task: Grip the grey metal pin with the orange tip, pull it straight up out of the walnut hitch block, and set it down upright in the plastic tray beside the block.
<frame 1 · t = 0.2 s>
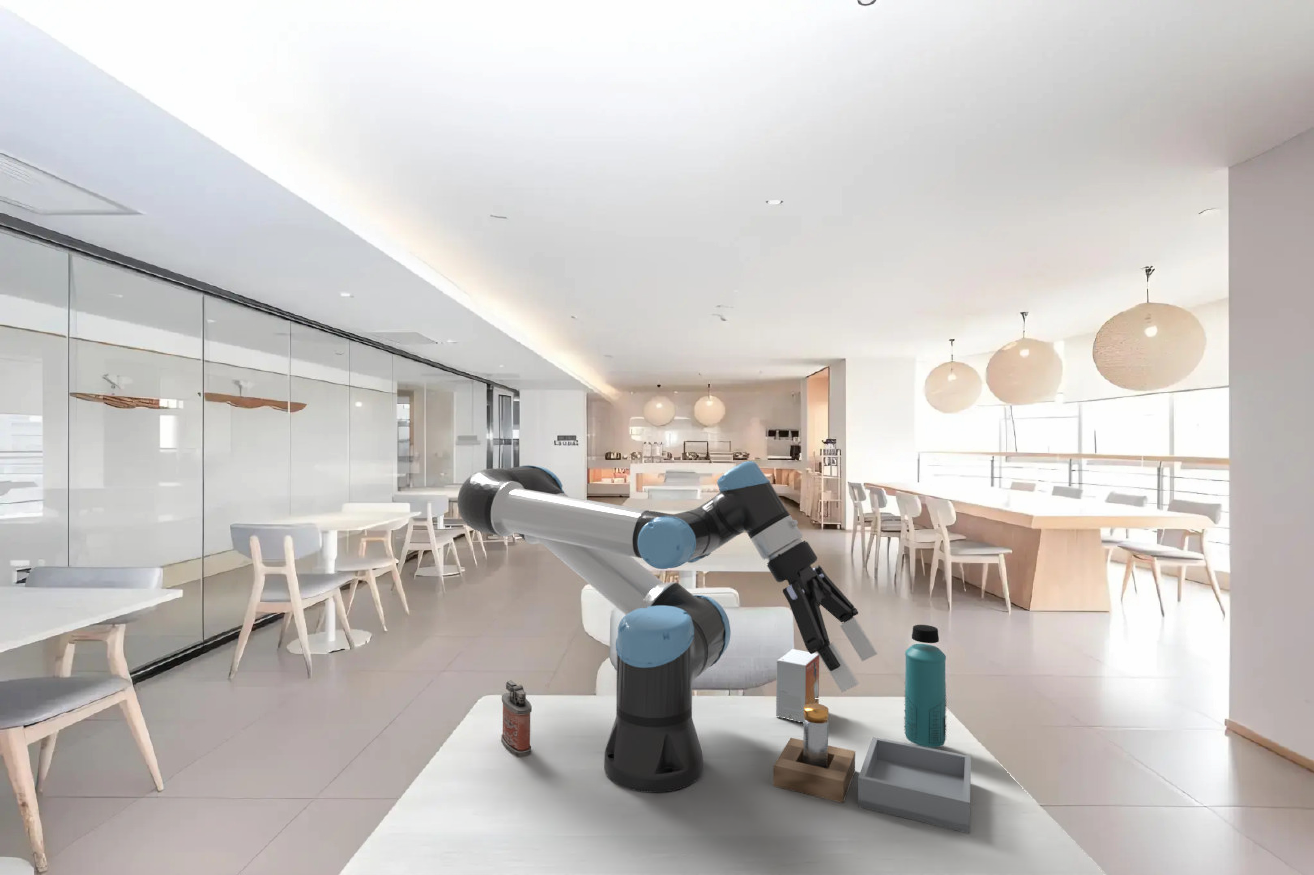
hand: (860, 671, 103), 15 cm above the table, tool tilted 35°, fingers open, 13 cm apart
tray: (916, 794, 96), on the table
small box: (797, 714, 124), on the table
beverage bottle: (924, 748, 111), on the table
hitch block: (815, 778, 101), on the table
lighter: (515, 747, 110), on the table
pin: (815, 743, 100), in the hitch block
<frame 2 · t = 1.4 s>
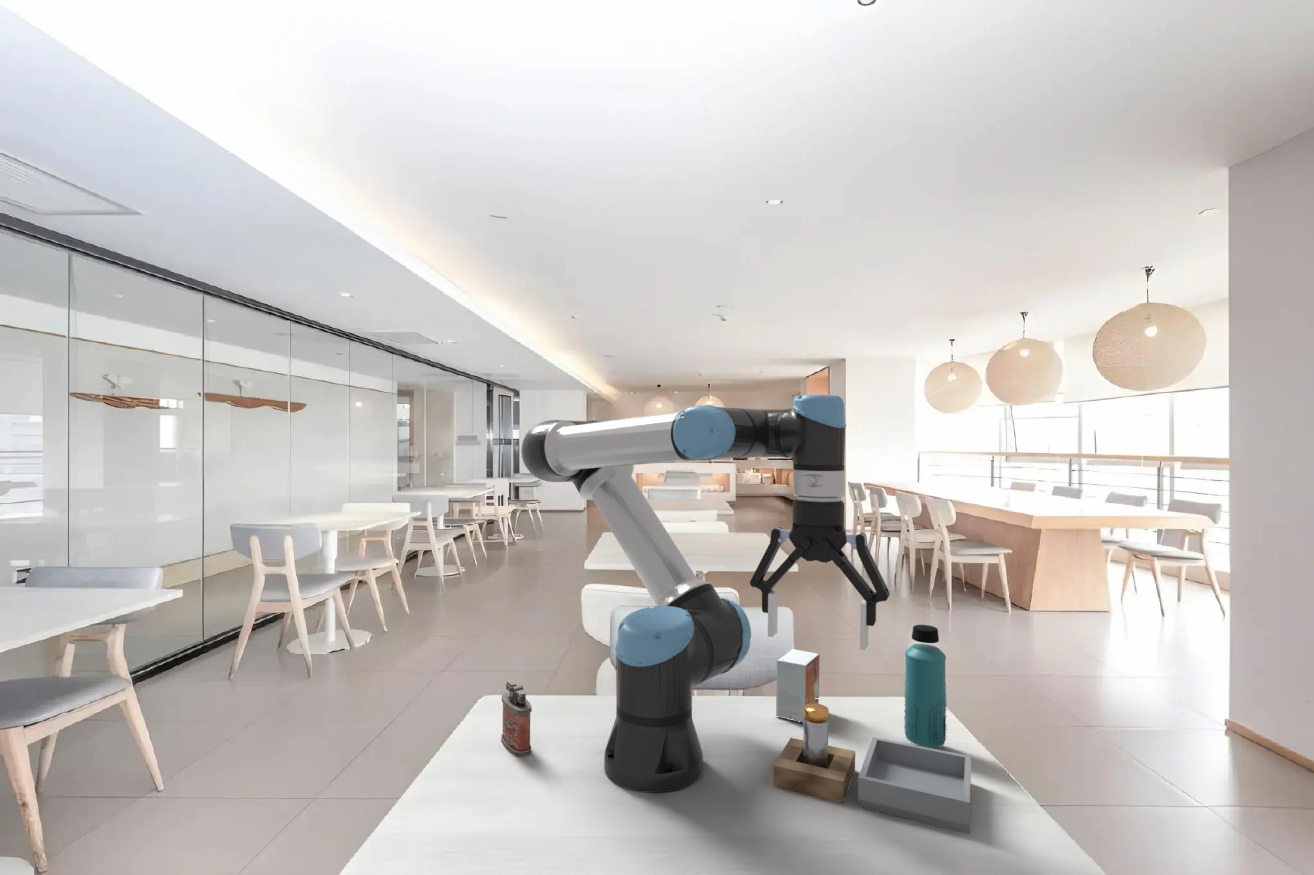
hand: (817, 640, 100), 21 cm above the table, tool pointing down, fingers open, 13 cm apart
nothing on the table moved.
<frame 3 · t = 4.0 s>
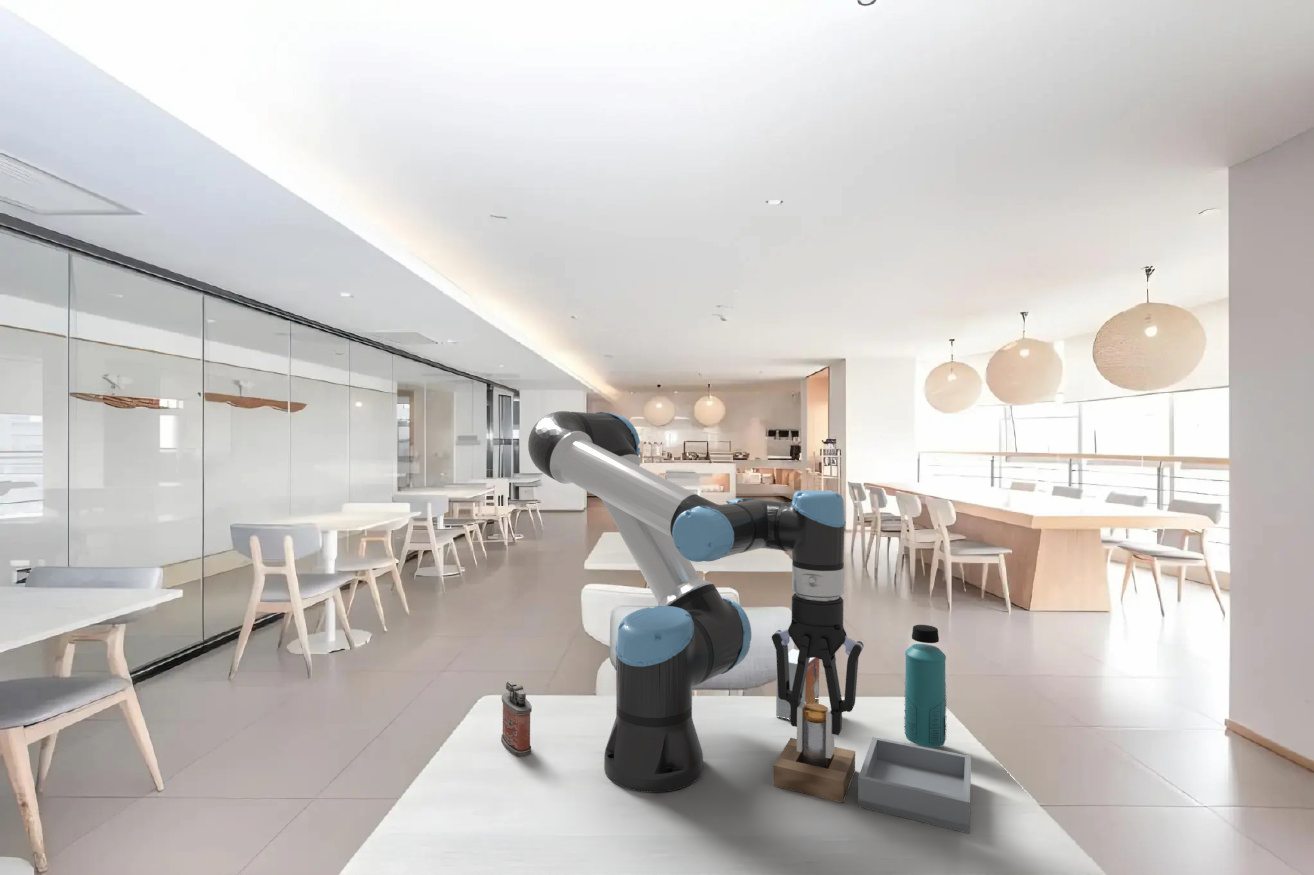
hand: (815, 750, 100), 4 cm above the table, tool pointing down, fingers closed on pin, 4 cm apart
pin: (815, 743, 100), in the hitch block, touching gripper
everything else where it was.
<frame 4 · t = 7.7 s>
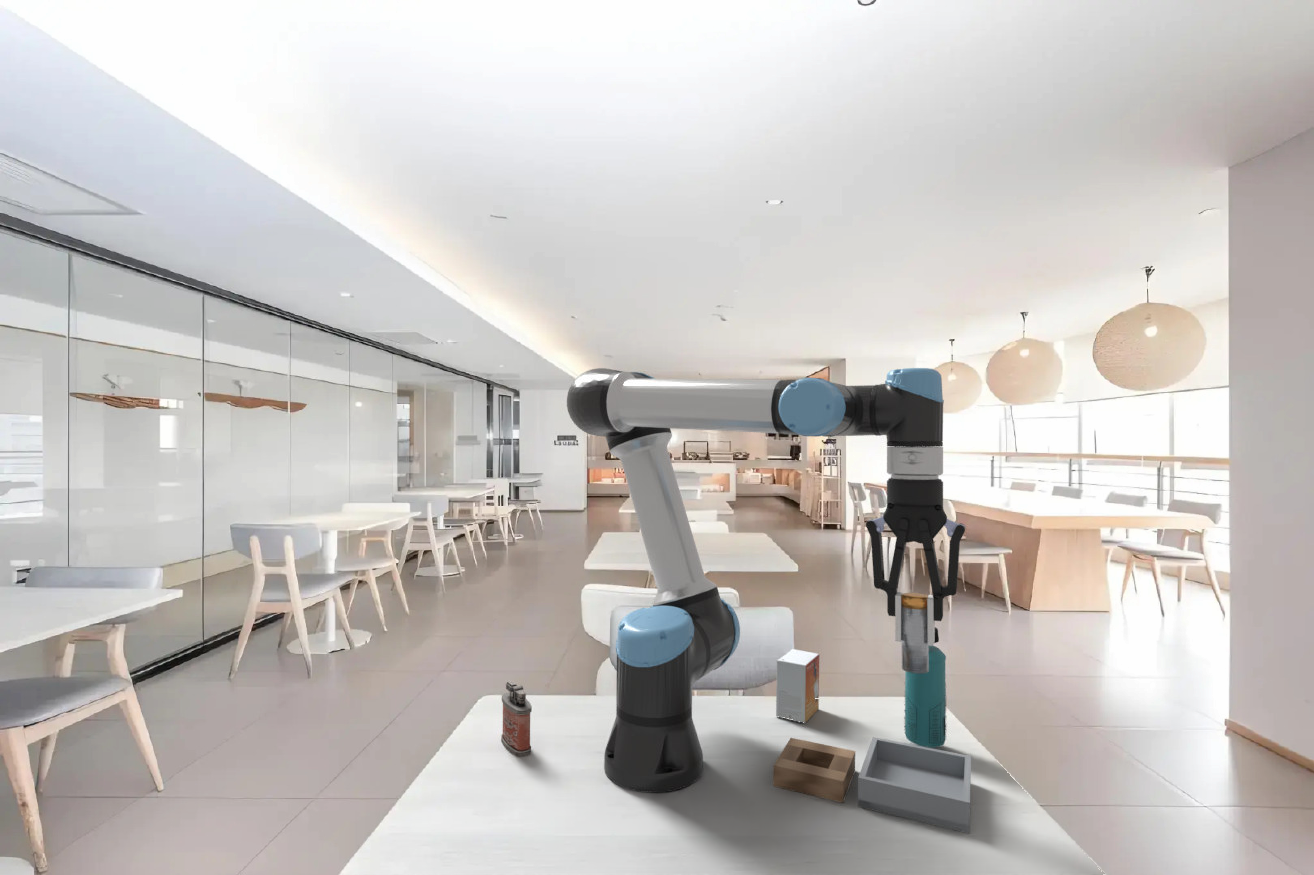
hand: (915, 640, 96), 22 cm above the table, tool pointing down, fingers closed on pin, 4 cm apart
pin: (914, 632, 96), point 23 cm above the table, touching gripper
everything else where it was.
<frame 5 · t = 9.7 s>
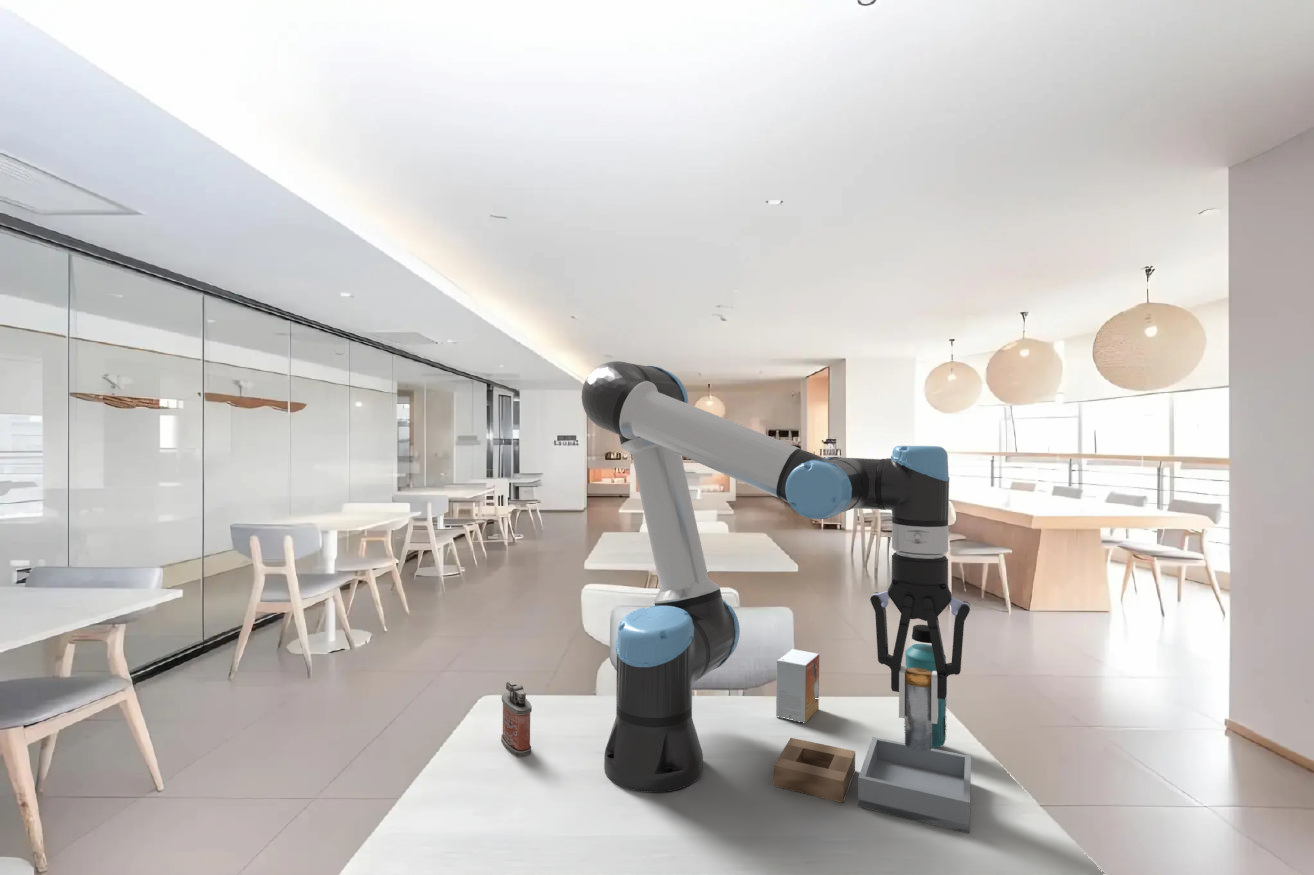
hand: (918, 716, 96), 11 cm above the table, tool pointing down, fingers closed on pin, 4 cm apart
pin: (918, 708, 96), point 12 cm above the table, touching gripper
everything else where it was.
when the fingers open (7 cm above the table, at t = 11.3 s): pin drops 1 cm, resting on tray.
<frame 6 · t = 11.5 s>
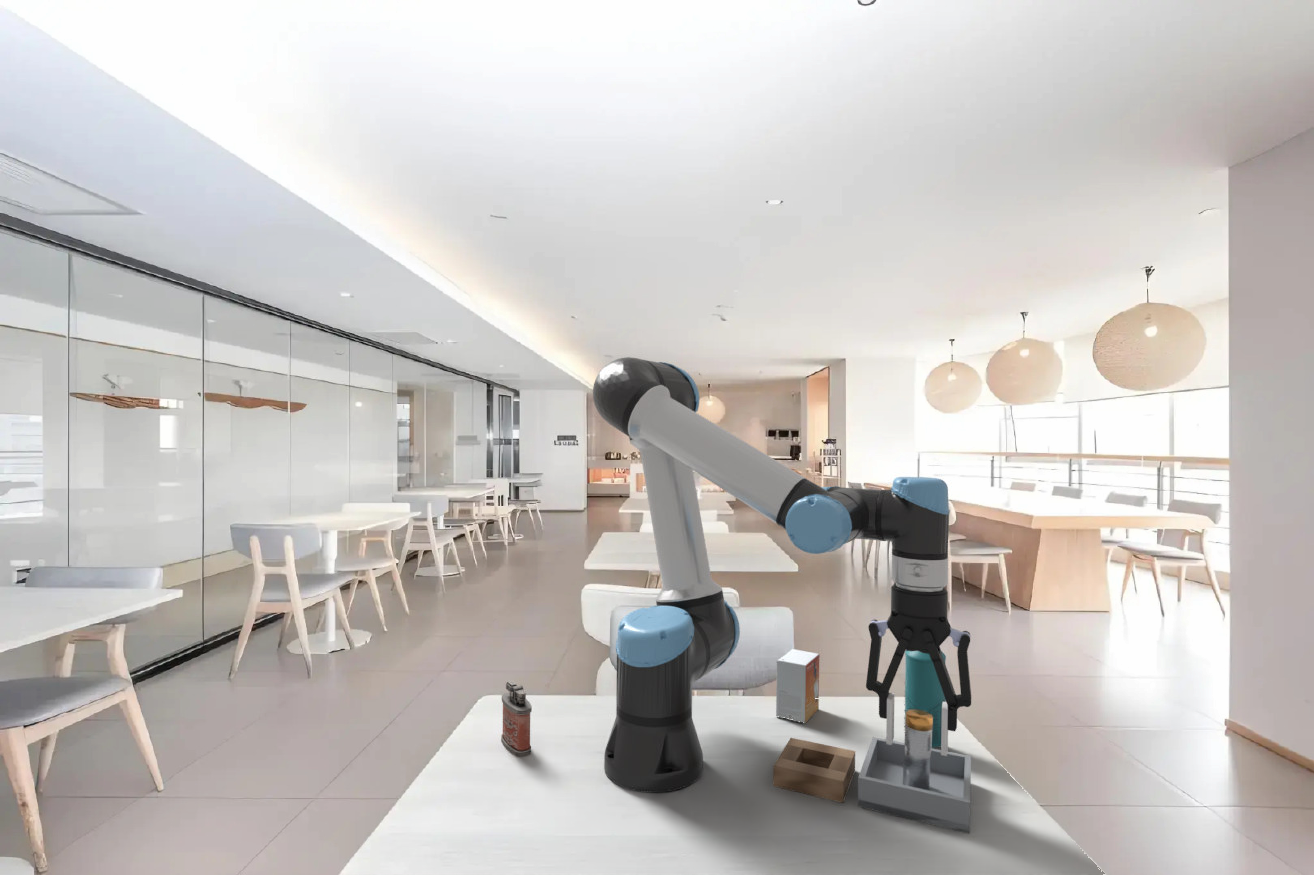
hand: (916, 745, 96), 7 cm above the table, tool pointing down, fingers open, 7 cm apart
pin: (917, 750, 96), in the tray, point 6 cm above the table
everything else where it was.
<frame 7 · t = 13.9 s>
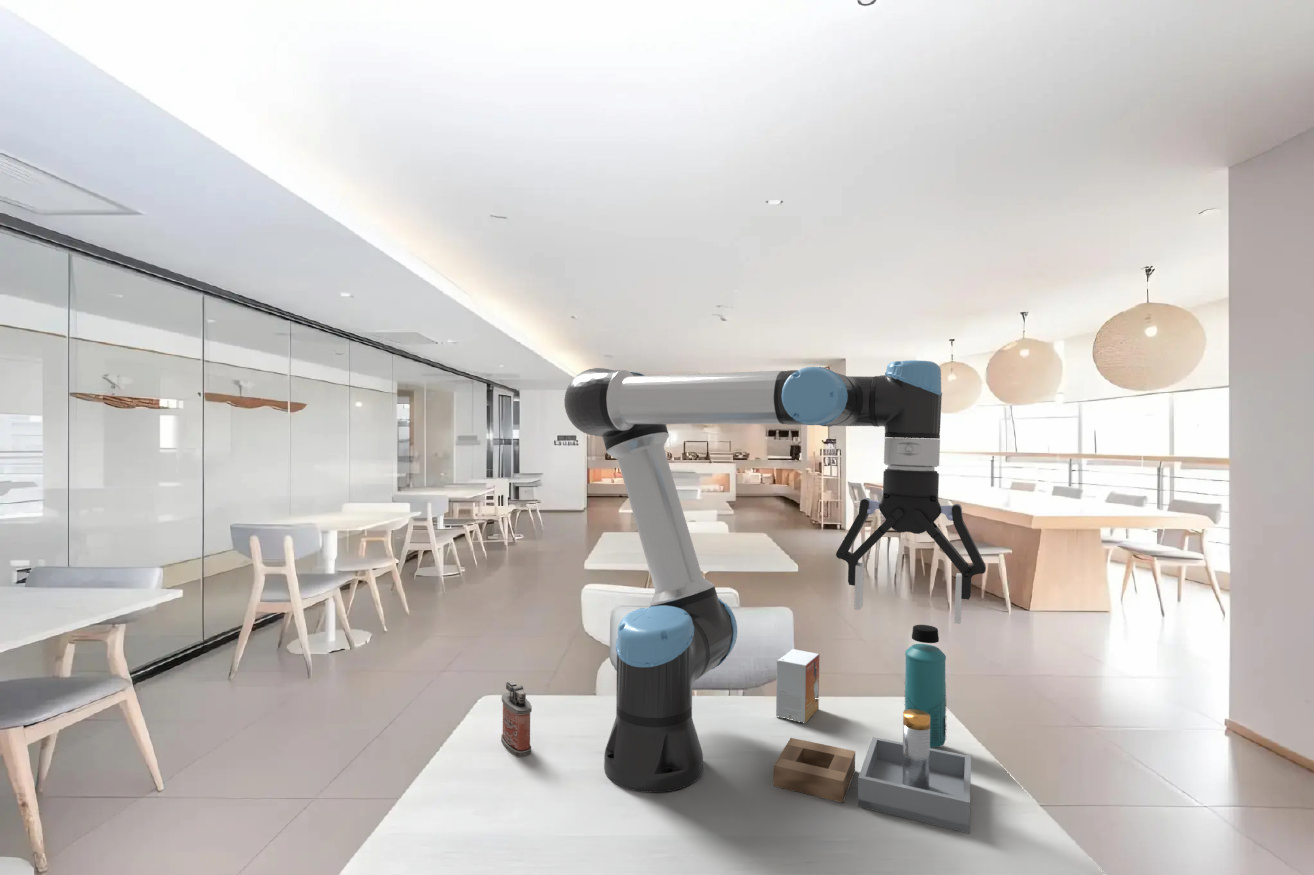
hand: (906, 614, 98), 25 cm above the table, tool pointing down, fingers open, 13 cm apart
nothing on the table moved.
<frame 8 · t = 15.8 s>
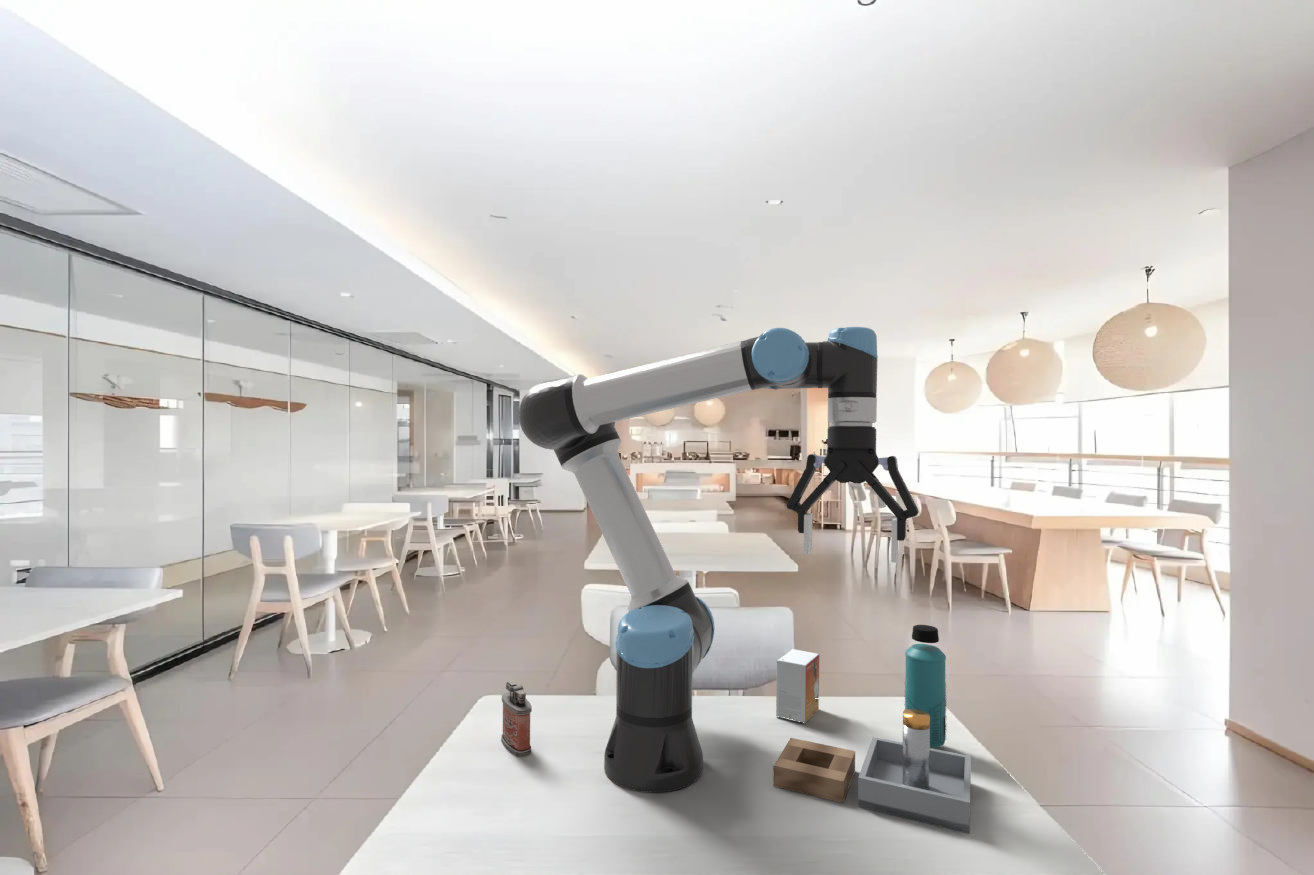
hand: (850, 557, 108), 32 cm above the table, tool pointing down, fingers open, 13 cm apart
nothing on the table moved.
at the end: pin inside the target area on the tray (0.1 cm from its centre), point 6.3 cm above the tray's base; the gripper is holding nothing; pin moved 14.1 cm from its start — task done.
